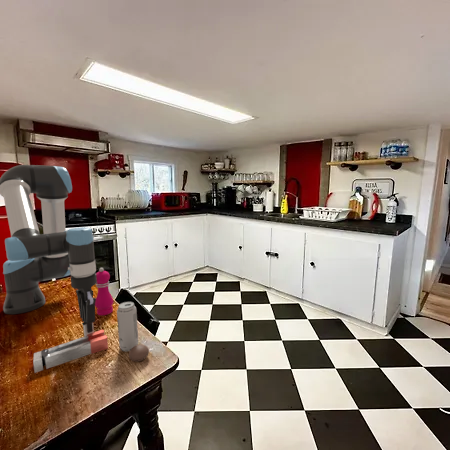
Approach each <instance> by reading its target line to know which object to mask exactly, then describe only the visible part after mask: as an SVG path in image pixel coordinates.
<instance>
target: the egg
mask: <svg viewBox="0 0 450 450" xmlns="http://www.w3.org/2000/svg"><path fill="white" fill-rule="evenodd" d="M149 353H150V350H149V347H148V346H147V345H145V344H138V345H136V346H134V347H133V348H132V349H131V350H130V351H128V357H129V359H130V360H131V361H132V362H141V361H143V360H145V359H146V358H147V357H148V356H149Z"/></svg>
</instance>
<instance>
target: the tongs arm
mask: <svg viewBox="0 0 450 450" xmlns="http://www.w3.org/2000/svg"><path fill="white" fill-rule="evenodd" d="M105 335H106V334H105V330H104V329H99V330H97V331H94V332H93V333H90V334H87V336H85V337H84V336H83V337H79V338H76V339H74V340H70V341H68V342H64V343H61V344H59V345H56V346H52V347H50V348H47V349H48V351H49V354H51V353H54V352H57V351H60V350H64V349H67V348H70V347H73V346H76V345H80V344H83V343H86V342H89V341H90V340H92V339H95V338H98V337H101V336H105Z"/></svg>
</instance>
